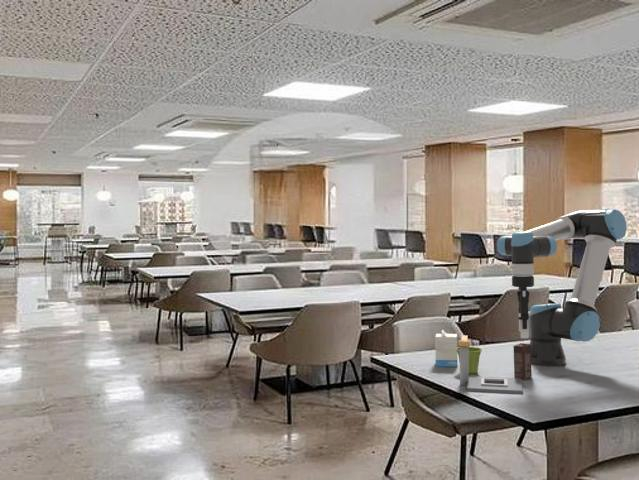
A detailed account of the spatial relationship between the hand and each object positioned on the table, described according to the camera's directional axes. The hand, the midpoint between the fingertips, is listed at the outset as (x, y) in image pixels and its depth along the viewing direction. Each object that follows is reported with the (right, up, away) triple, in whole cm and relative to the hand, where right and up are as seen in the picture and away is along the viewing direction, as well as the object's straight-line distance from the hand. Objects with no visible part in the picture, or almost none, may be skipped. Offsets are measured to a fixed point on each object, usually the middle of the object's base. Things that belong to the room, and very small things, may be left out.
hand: (523, 334), depth 244 cm
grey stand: (-15, -16, -11) cm, 24 cm away
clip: (-22, -2, -4) cm, 23 cm away
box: (0, -16, 0) cm, 16 cm away
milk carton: (-23, -15, +24) cm, 37 cm away
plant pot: (-17, -16, +11) cm, 26 cm away
